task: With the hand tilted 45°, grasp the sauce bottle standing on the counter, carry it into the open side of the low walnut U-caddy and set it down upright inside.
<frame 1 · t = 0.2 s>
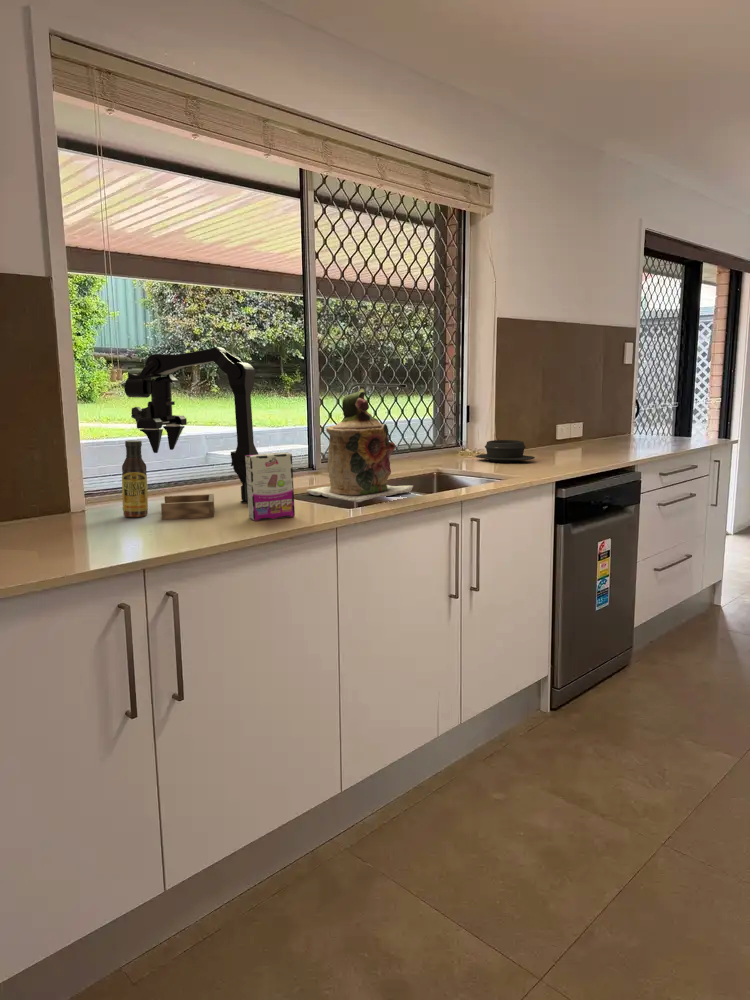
hand: (163, 451, 208), 14 cm above the worktop, tool pointing down, fingers open, 9 cm apart
cookie jar: (360, 494, 217), on the worktop
sauce bottle: (136, 516, 185), on the worktop
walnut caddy: (189, 513, 188), on the worktop
candy bar box: (271, 518, 181), on the worktop
casserole: (504, 462, 294), on the worktop
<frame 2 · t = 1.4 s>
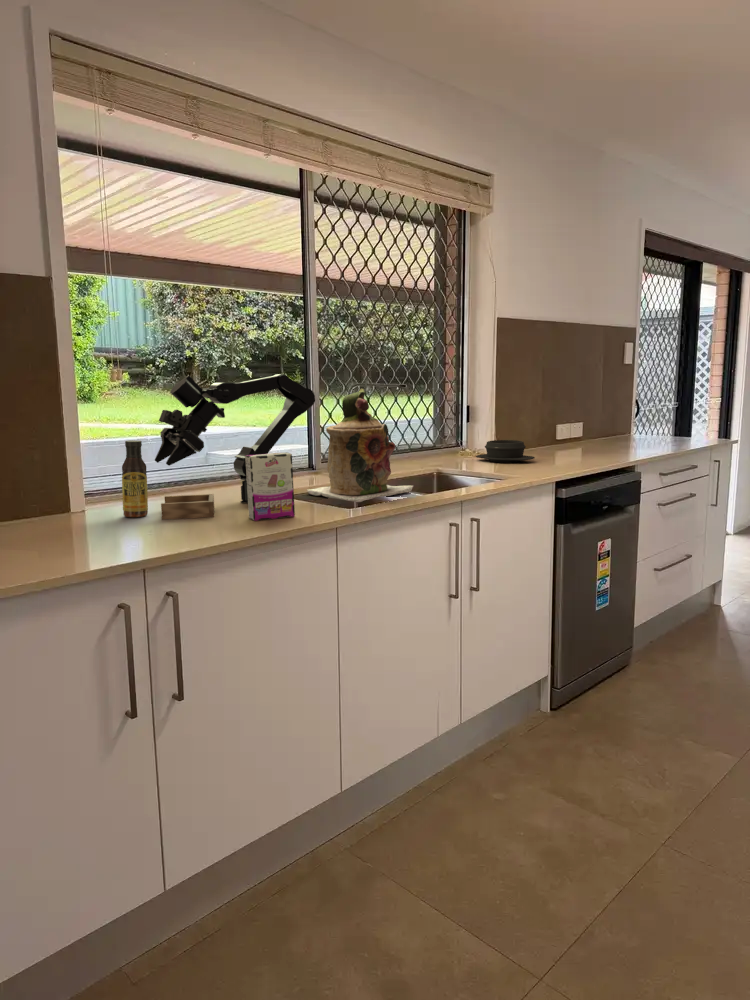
hand: (161, 463, 187), 13 cm above the worktop, tool tilted 45°, fingers open, 9 cm apart
nothing on the worktop moved.
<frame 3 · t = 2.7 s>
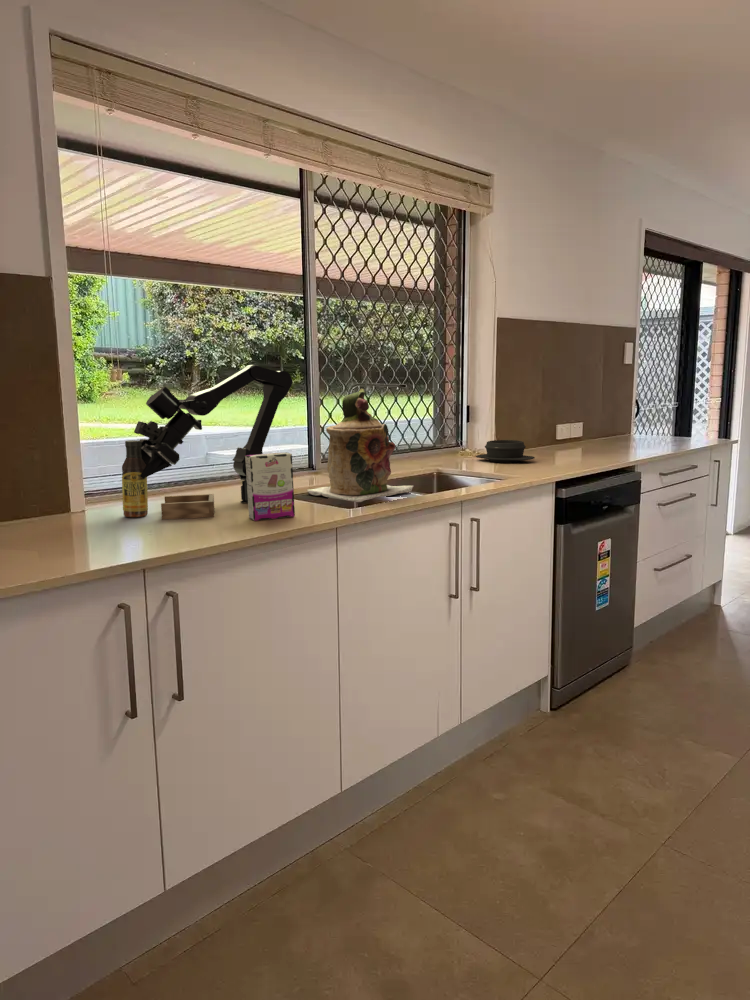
hand: (136, 475, 184), 11 cm above the worktop, tool tilted 45°, fingers open, 9 cm apart
nothing on the worktop moved.
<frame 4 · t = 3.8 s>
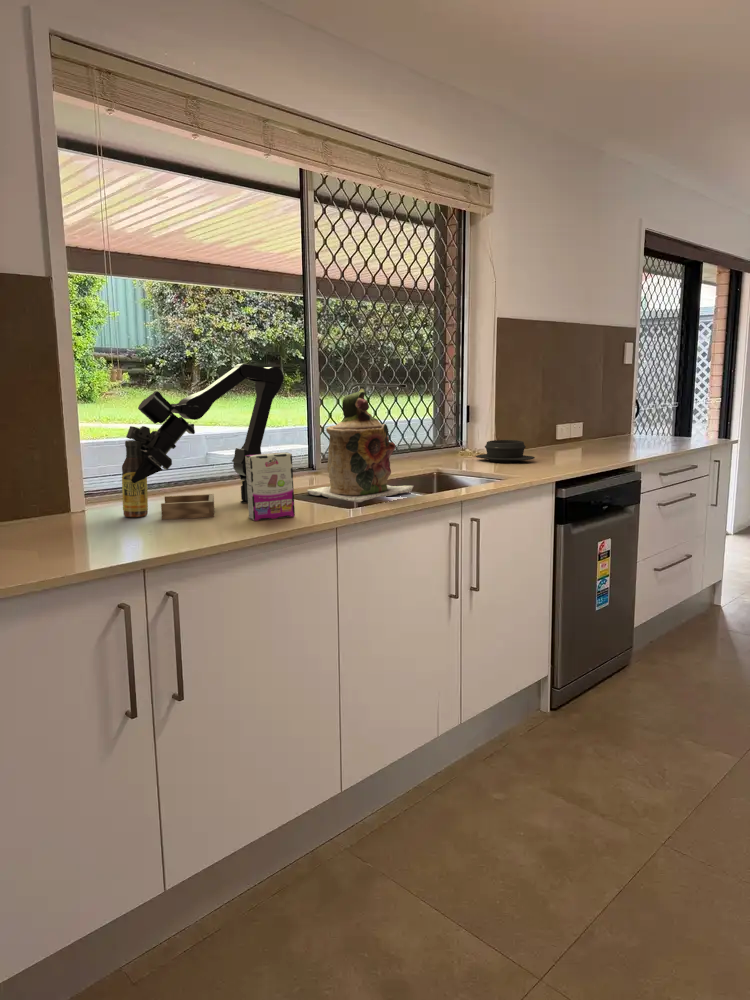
hand: (128, 480, 183), 10 cm above the worktop, tool tilted 45°, fingers closed on sauce bottle, 6 cm apart
sauce bottle: (136, 516, 185), on the worktop, touching gripper
everything else where it was.
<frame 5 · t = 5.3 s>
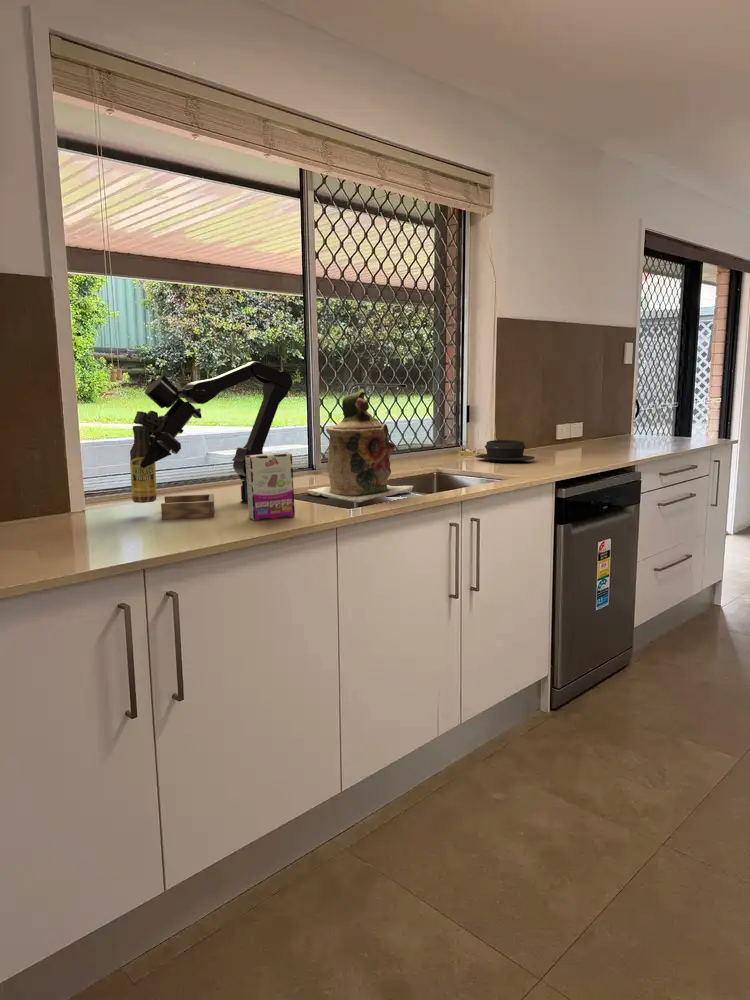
hand: (137, 465, 182), 13 cm above the worktop, tool tilted 45°, fingers closed on sauce bottle, 6 cm apart
sauce bottle: (145, 502, 185), point 4 cm above the worktop, touching gripper
everything else where it was.
when the fingers open (12 cm above the worktop, at t = 7.1 s): sauce bottle drops 1 cm, resting on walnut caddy.
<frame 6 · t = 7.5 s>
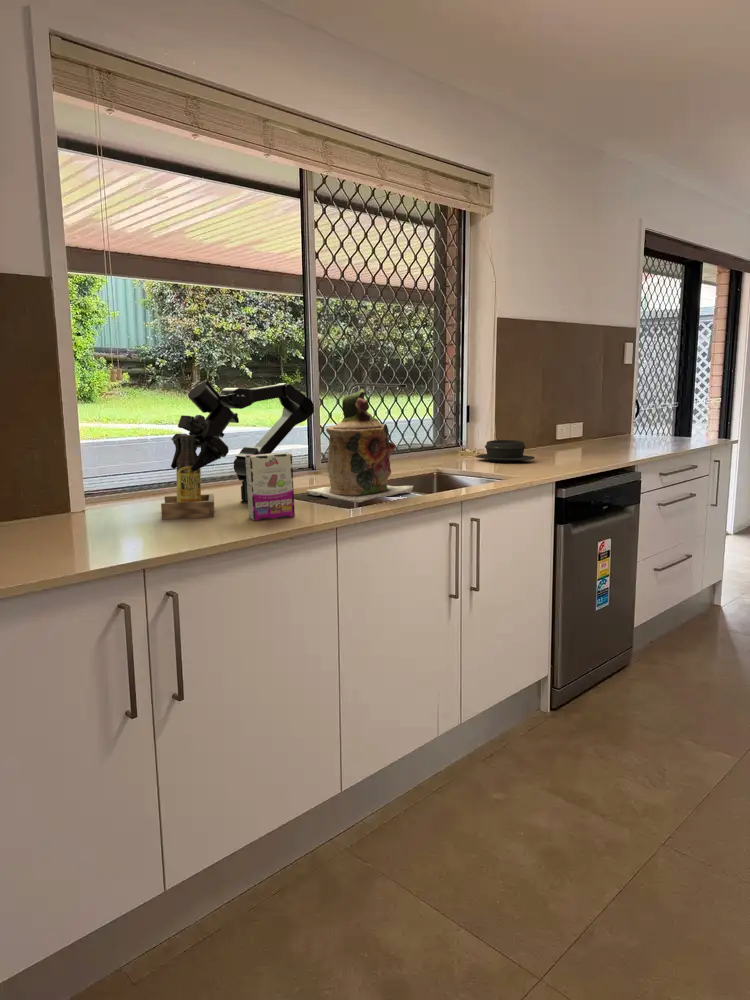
hand: (182, 469, 185), 12 cm above the worktop, tool tilted 45°, fingers open, 9 cm apart
sauce bottle: (190, 510, 188), point 1 cm above the worktop, touching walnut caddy
everything else where it was.
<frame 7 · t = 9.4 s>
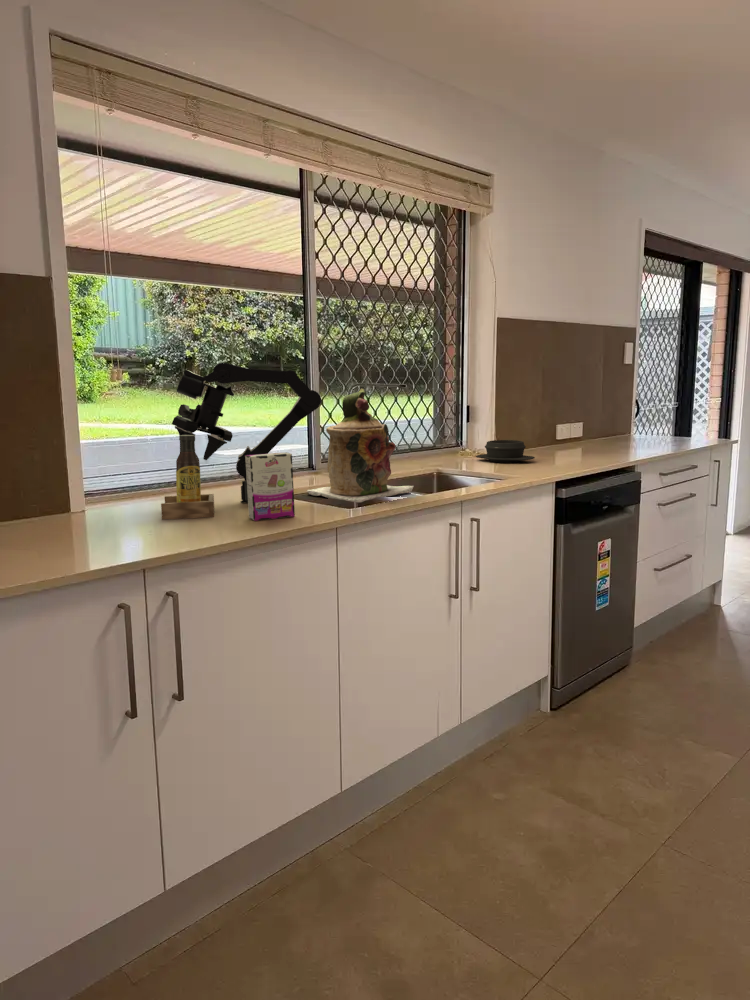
hand: (193, 457, 200), 14 cm above the worktop, tool tilted 20°, fingers open, 9 cm apart
nothing on the worktop moved.
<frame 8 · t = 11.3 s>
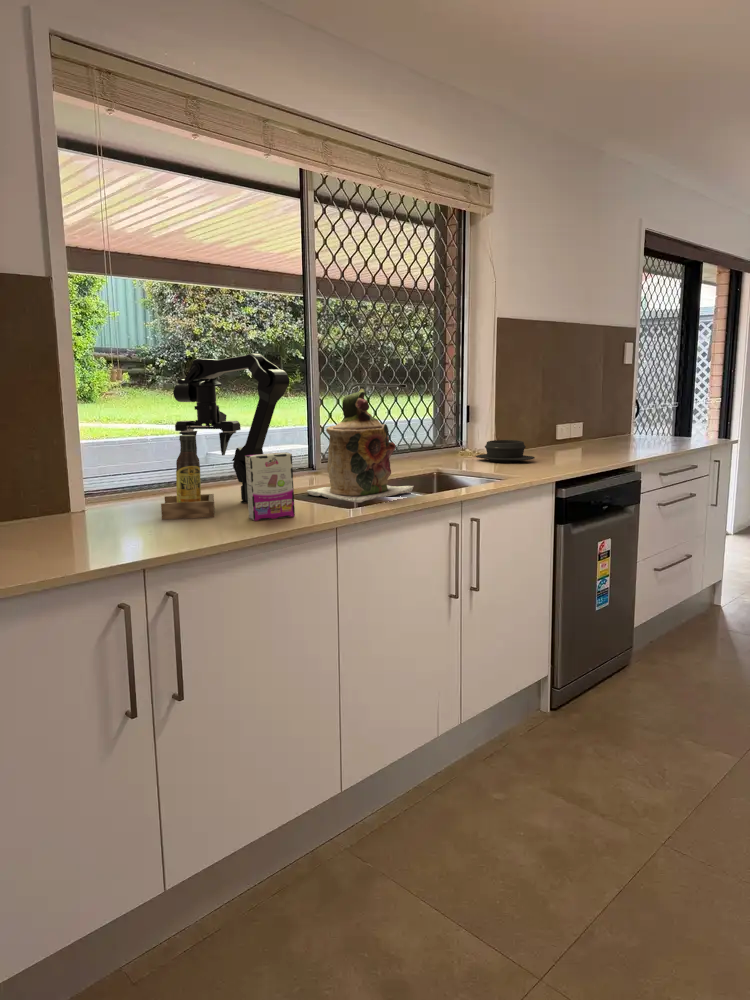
hand: (209, 455, 210), 13 cm above the worktop, tool pointing down, fingers open, 9 cm apart
nothing on the worktop moved.
at the end: sauce bottle inside the target area on the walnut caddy (0.3 cm from its centre), point 0.8 cm above the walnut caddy's base; sauce bottle tilted 0°; the gripper is holding nothing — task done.
